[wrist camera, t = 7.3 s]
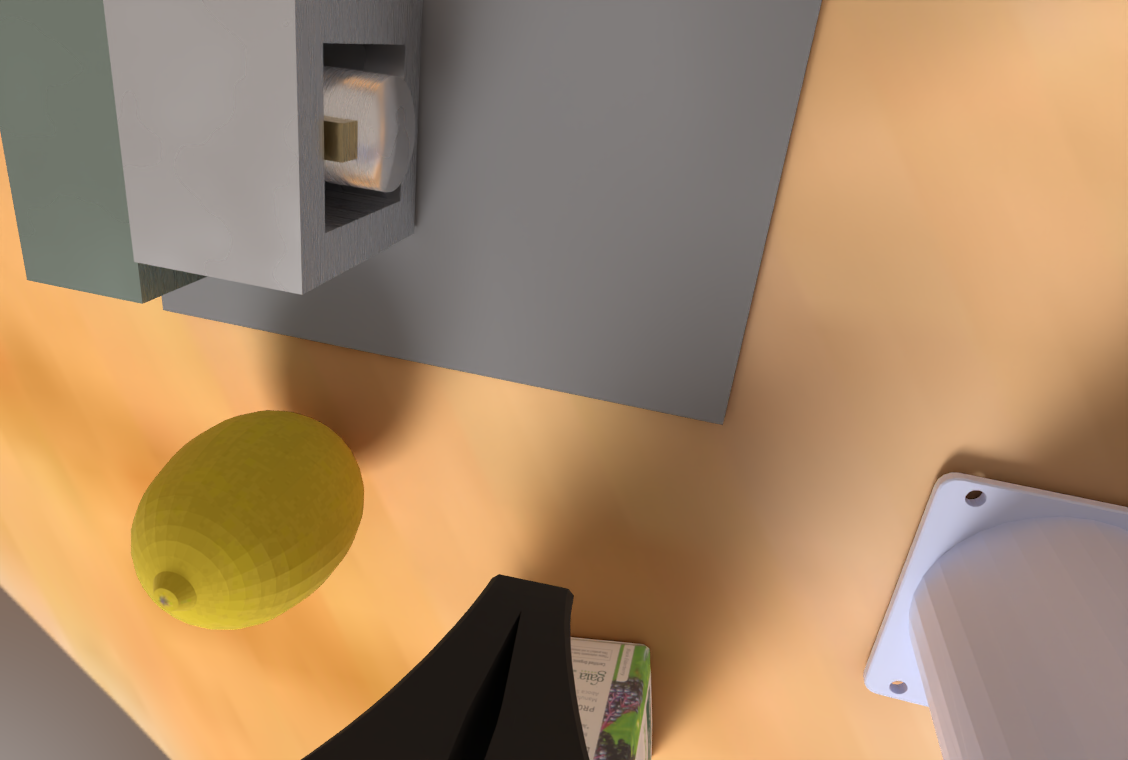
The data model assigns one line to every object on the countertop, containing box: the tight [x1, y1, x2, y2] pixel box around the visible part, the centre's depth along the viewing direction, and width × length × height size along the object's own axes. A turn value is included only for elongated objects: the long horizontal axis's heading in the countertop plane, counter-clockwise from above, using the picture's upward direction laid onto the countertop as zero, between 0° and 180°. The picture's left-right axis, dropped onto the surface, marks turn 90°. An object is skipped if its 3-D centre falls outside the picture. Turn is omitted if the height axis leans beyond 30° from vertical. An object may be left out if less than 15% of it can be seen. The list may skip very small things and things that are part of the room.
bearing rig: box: [0, 0, 415, 304], centre depth 18 cm, size 8×8×6 cm
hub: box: [103, 0, 423, 295], centre depth 18 cm, size 4×6×6 cm, turn 173°
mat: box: [162, 0, 822, 425], centre depth 21 cm, size 18×14×1 cm
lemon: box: [131, 410, 364, 630], centre depth 22 cm, size 6×6×8 cm
